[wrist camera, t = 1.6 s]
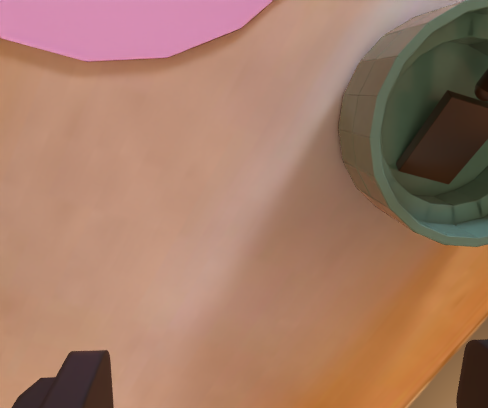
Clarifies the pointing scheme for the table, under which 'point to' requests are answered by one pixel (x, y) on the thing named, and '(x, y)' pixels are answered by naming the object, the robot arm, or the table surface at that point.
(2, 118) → the table surface
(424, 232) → the bowl
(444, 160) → the spatula
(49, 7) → the platter
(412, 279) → the table surface
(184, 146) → the table surface
